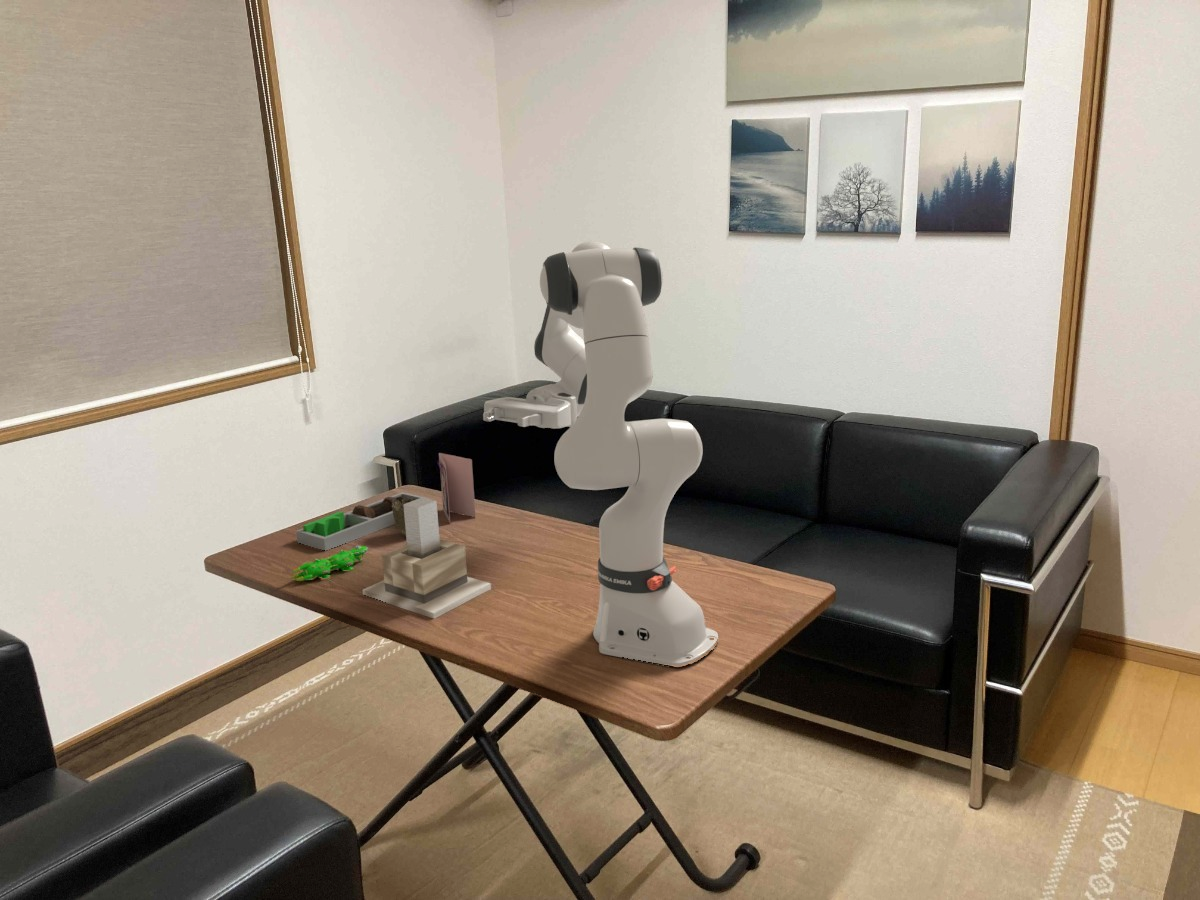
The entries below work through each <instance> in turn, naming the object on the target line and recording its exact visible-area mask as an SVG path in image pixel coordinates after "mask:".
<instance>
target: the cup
mask: <svg viewBox="0 0 1200 900" xmlns="http://www.w3.org/2000/svg"><path fill="white" fill-rule="evenodd" d="M414 500H415V499H413V500H412V499H411V498H408V499H407V500H406V502H405V500H404V499H403V500H402V503H401V502H400V501H399V500H398V501H397V502H396V501H395V502H394V504H393V503H392V505H391V506H392V510H393V515H394V519H395V523H396V524H395V525H396V527H397V528H398V529H399V530H400V531H401V534H402V535H403V536H404V537H406V528H405V517H404V506H403V504H406V503H409V502H411V501H414Z"/></svg>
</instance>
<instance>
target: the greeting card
mask: <svg viewBox="0 0 1200 900" xmlns="http://www.w3.org/2000/svg"><path fill="white" fill-rule="evenodd" d="M436 462H437V464H438V467H439V473H440V486H441V499H442V500H441V501H442V509H443V513H444V514H445V516H446V519H447V520H449V521H448V523H449V522H450V523H451V513H454V512H456V513H455V514H458V513H459V514H458V515H462V514H464V515H463V516H465V515H469V516H473V517H476V506H475V504H476V503H475V491H474V490H475V489H474V474H473V459H471V458H465V457H462V456H456V455H452V454H448V453H447V454H446V453H442V452H439V453H438V460H436ZM450 511H452V512H450ZM469 516H468V517H469ZM473 517H472V518H473Z"/></svg>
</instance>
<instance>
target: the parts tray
mask: <svg viewBox="0 0 1200 900" xmlns="http://www.w3.org/2000/svg"><path fill="white" fill-rule="evenodd" d="M400 496H401V497H403V498H404V499H406V500H407V499H408V498H411V499H412V500H413V499H415V500H416V499H419V498H422V497H423V498H427V499H431V498H430V497H425V496H421V495H416V494H412V493H407V492H404V491H402V492H400V493H396V494H394V495H391V496H389V497H394V498H397V497H400ZM384 499H385V498H383V499H380V500H377V501H375V502H371V503H369V504H365V506H366V507H371V506H374V505H377V504H380V503H382V502H383V500H384ZM353 510H354V509H352V510H350V511H347V512H344V522H345V529H344V530H341V531H339V532H336V533H334V534H331V535H328V536H326V537H324V536H320V535H317V534H313V533H310V532H306V531H303V528H300V529H298V530H296V531H295V532H296V541H297V544H299V543H301V544H300V545H302V544H305V545H304V546H306V545H308V546H307V547H309V546H311V547H310V548H312V547H315V548H314V549H316V548H318V549H317V550H319V549H322V550H325V551H324V552H327V551H326V550H328V551H330V550H332V549H331V548H333V549H335V548H334V547H336V548H337V546H338V547H340V546H339V545H341V546H343V545H346V544H348V543H351V542H353V541H355V539H356V540H357V539H360V538H364V537H366V536H369V535H370V534H373V533H377V532H378V531H380V530H383V529H386V528H389V527H390V526H394V525H396V523H395V519H394V515H393V511H391V512H389V513H386V514H383V515H381V516H378V517H376V518H373V519H372V518H368V517H364V516H360V515H356V514H352V512H353ZM345 543H346V544H345ZM342 544H343V545H342ZM329 549H330V550H329ZM322 550H321V551H322Z"/></svg>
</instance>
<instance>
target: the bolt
mask: <svg viewBox="0 0 1200 900" xmlns="http://www.w3.org/2000/svg"><path fill="white" fill-rule="evenodd" d="M383 499H384V500H383V502H382V503H380V504H377V505H374V506H371V507H366V505H360V504H359V505H356V506H355V507H354V508H353V509H352V510H353V512H352V514H356V515H360V516H364V517H368V518H372V519H373V518H376V517H378V516H381V515H383V514H386V513H389V512H391V511H393V510H392V506H391V505H392V503H393V504H394V502H395V501H396V502H397V501H398V500H399V501H400V502H401V503H402V500H403V499H404V498H403V497H401V496H400V497H397V498H394V497H390V496H387V497H384V498H383ZM404 500H405V502H406V499H404Z"/></svg>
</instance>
